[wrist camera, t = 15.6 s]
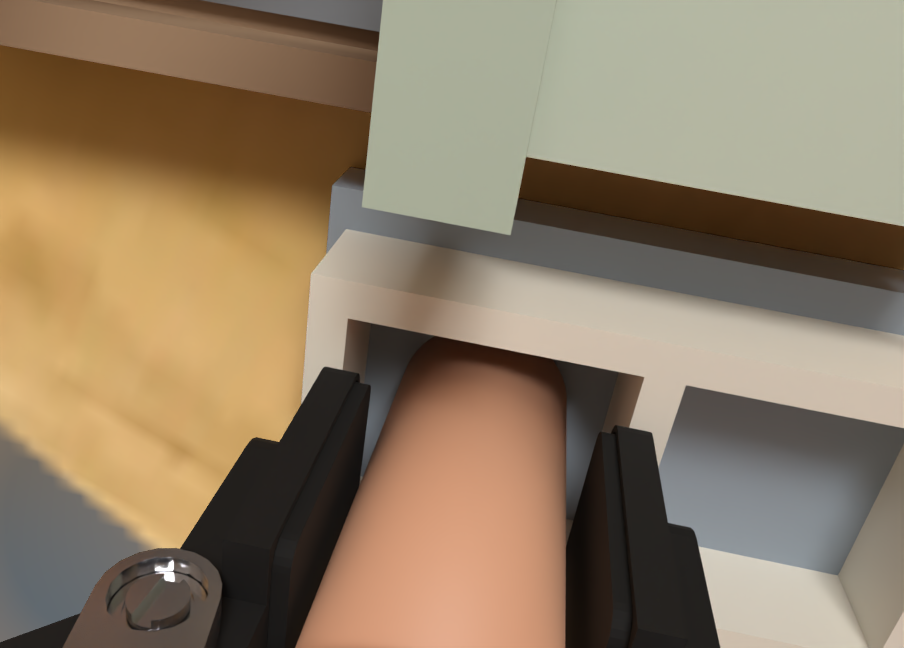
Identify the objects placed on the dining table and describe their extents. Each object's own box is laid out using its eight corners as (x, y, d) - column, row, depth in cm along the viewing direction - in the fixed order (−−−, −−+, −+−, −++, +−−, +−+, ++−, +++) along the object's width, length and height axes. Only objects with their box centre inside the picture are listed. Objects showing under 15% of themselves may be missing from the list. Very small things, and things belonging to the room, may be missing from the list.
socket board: (993, 286, 13) (1111, 380, 10) (840, 589, 16) (897, 724, 14) (350, 166, 14) (293, 224, 11) (321, 480, 17) (271, 588, 14)
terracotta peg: (610, 324, 13) (664, 801, 6) (566, 502, 15) (562, 1050, 7) (390, 284, 13) (170, 692, 6) (371, 464, 15) (179, 957, 8)
